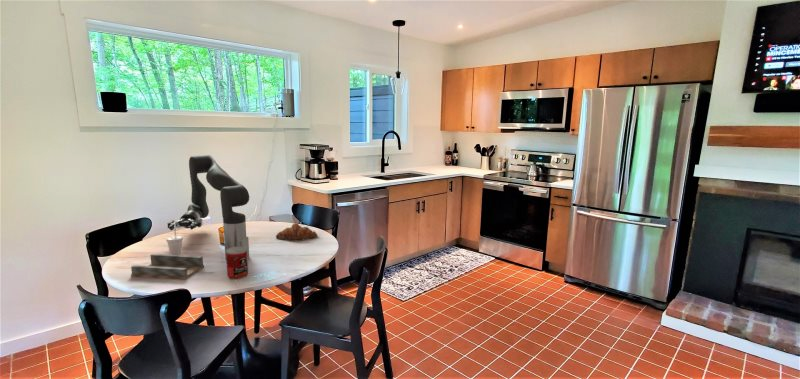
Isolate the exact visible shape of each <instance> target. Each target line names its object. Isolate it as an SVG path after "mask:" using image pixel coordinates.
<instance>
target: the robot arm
mask: <svg viewBox="0 0 800 379" xmlns="http://www.w3.org/2000/svg"><path fill="white" fill-rule="evenodd" d="M188 169H189V170H188V171H189V176H190V177H189V178H190V185H191V199H190V200H191V204H189V205H188V207H187V210H186V212H185V213H183V215H182V216H180V218H179V220H174V219H172V220H170V221H168V222H167V229H169V230H170V231H174V228H176V229H180V228H185V229H190V230H192V231H193V229H195V228H197V227H198V228H201V227H202V225H203V219H205V218H207V217H208V216H209V214H210V210H209V209H210V208H209V206H208V202H207V188H206V186H205V185H204V183H202V182H201V180H200V179H199V178H198V174H206V175H205V178H206V182H207V183H208V184H209V185H210V186H211V187H212V188H213V189H214V190H216V191H219V192H220V194H219V195H220V196H219V197H220V205H221V214H222V222H223V223H222V226H223V242H224V257H225V259H224V260H225V261H226V262H227V260H226V250H227V249H229V248H231V247H238V246H240V247H245V248H247V259H248V258H249V257H250V244H249V243H250V242H249V236H247V224H246V222H247V221H246V220H247V218H246V215H245V214H244V213H241V212H236V211H234V209H233V208H235V207H236V208H237V207H242V206H246V205H247V204H248V203H249V200H250V194H249V191H248V189H247V188H246V187H245V186H244V185H243V184H241V183H240V182H238V181H236V180H235V179H234V178H233V177H232V176H230V174H228V173H227V172H226V171H225V170H224V169H223V168H222V167H221V166H220V165H219V164H218V163H217V162H216V160H215V159H214V157H213V156H212V155H210V154H197V155H196V154H195V155H192V156H190V157H189V159H188Z"/></svg>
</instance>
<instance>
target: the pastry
mask: <svg viewBox="0 0 800 379" xmlns="http://www.w3.org/2000/svg"><path fill="white" fill-rule="evenodd" d="M316 236H317V237H318V233H317V232H316V231H313V230H312V229H310V228H309V227H308V226H304V227H303V226H301V225H299V223H297V222H295V223H293V224H292V226H291V227H286V228H285V229H283V230H281V231H278V233H276V234H275V237H276V239H279V240H286V239H287V241H293V240H294V241H293V242H295V240H297V241H304V240H308V239H307V238H311V239H314V237H315V238H316ZM303 239H304V240H303Z"/></svg>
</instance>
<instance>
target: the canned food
mask: <svg viewBox="0 0 800 379" xmlns="http://www.w3.org/2000/svg"><path fill="white" fill-rule="evenodd" d="M226 260H227V261H226ZM226 260H225V261H226V275H227V277H228V278H229V279H231V280H238V279H239V280H240V279H242V278H243V279H244V278H245V277H247V276H248V274H249V272H248V271H249V270H248V269H249V268H248V258H247V248H245V247H240V246H238V247H231V248H229V249H227V250H226Z"/></svg>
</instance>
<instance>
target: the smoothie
mask: <svg viewBox="0 0 800 379" xmlns="http://www.w3.org/2000/svg"><path fill="white" fill-rule="evenodd" d="M176 229H177V228H174V229H173V231H174V235H172V236H167V237H166V239H165V241H166V243H167V246H168V251H169V255H182V248H183V246H182V245H183V240H184V238H183V236H182V235H177V230H176Z"/></svg>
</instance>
